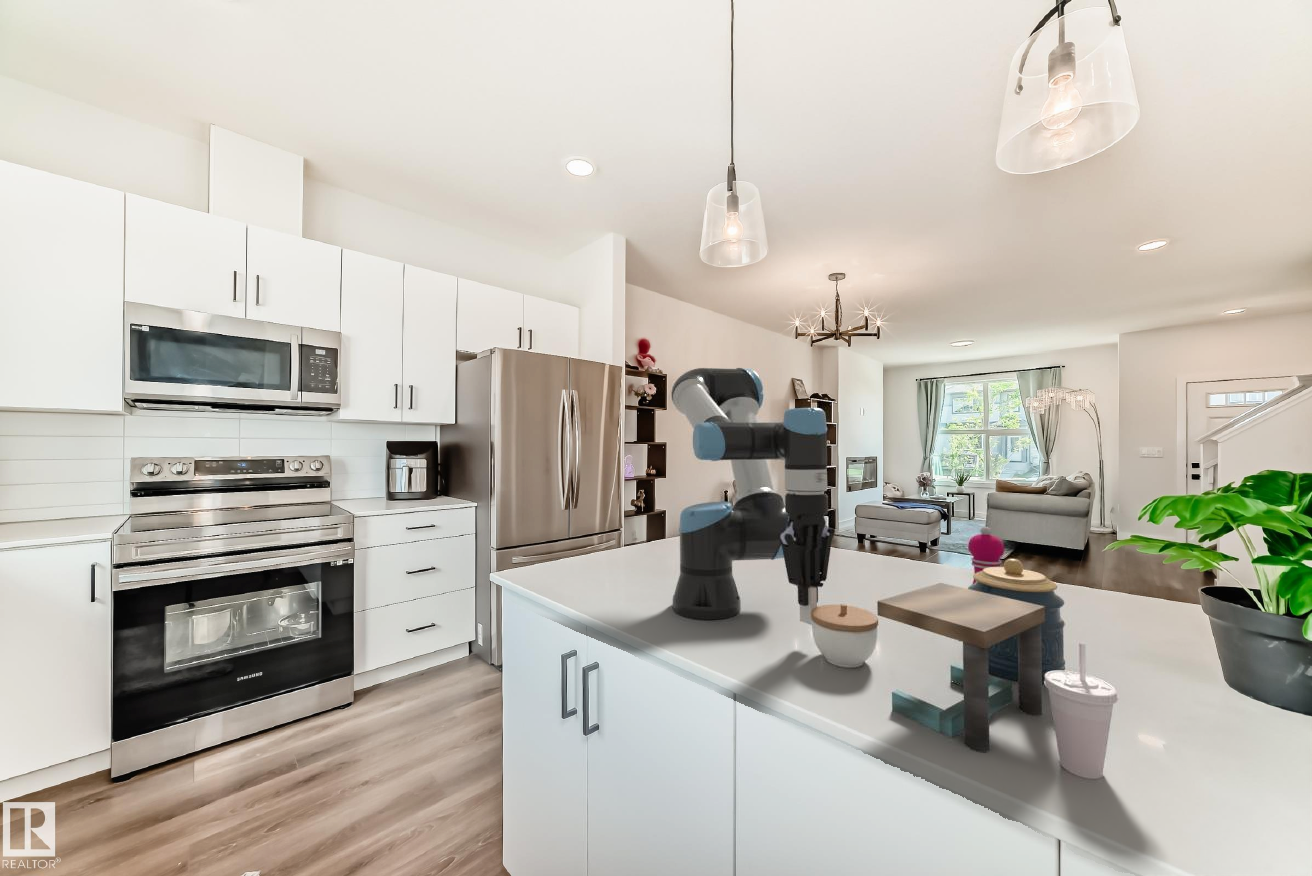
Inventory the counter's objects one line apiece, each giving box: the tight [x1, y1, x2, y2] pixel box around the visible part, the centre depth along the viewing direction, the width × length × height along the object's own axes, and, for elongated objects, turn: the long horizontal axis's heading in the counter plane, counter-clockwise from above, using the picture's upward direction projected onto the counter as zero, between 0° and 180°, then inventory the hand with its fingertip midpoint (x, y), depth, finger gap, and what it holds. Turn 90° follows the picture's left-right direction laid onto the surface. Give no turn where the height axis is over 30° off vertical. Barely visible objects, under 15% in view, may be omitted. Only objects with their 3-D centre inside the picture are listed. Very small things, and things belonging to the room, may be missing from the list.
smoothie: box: [1043, 641, 1119, 780], centre depth 57 cm, size 6×6×14 cm
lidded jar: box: [811, 603, 879, 669], centre depth 86 cm, size 11×11×9 cm
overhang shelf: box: [876, 582, 1045, 753], centre depth 70 cm, size 14×17×14 cm
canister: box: [967, 558, 1066, 684], centre depth 83 cm, size 13×13×18 cm
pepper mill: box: [967, 526, 1005, 585], centre depth 101 cm, size 7×7×20 cm
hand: (808, 622), depth 92 cm, fingers closed
